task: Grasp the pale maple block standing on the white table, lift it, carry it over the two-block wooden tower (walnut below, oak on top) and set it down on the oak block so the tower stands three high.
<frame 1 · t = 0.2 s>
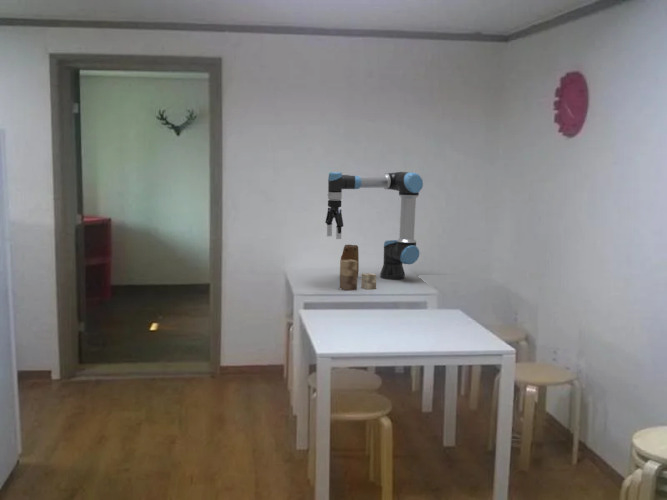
hand: (333, 237, 407), 28 cm above the table, fingers open, 13 cm apart
maple block: (368, 288, 407), on the table
oak block: (348, 274, 402), point 8 cm above the table, touching walnut block
block: (349, 278, 440), on the table
walnut block: (348, 288, 403), on the table, touching oak block
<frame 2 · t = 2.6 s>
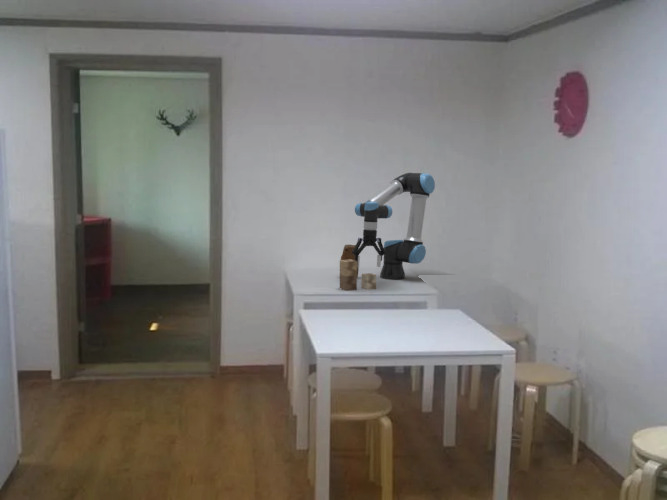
hand: (368, 267, 405), 12 cm above the table, fingers open, 13 cm apart
oak block: (348, 274, 402), point 8 cm above the table, touching gripper, walnut block
everything else where it was.
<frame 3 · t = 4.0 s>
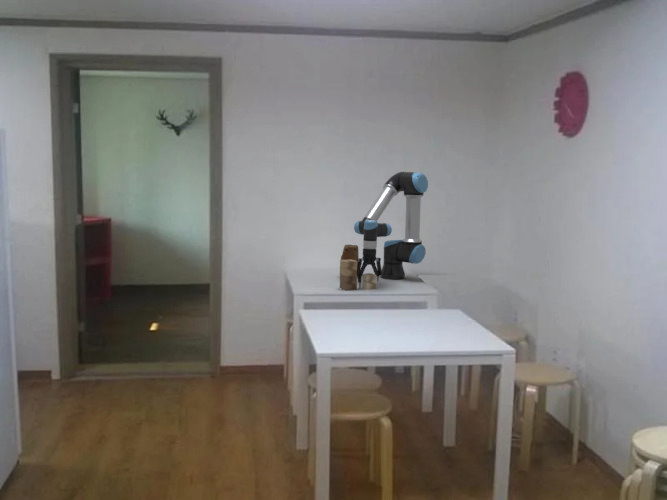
hand: (367, 287, 407), 0 cm above the table, fingers open, 9 cm apart
oak block: (348, 274, 402), point 8 cm above the table
walnut block: (348, 289, 403), on the table
everything else where it was.
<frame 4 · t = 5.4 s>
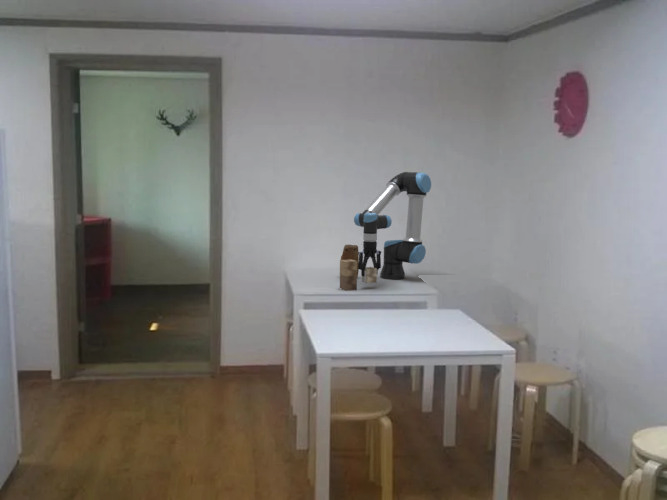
hand: (369, 281, 407), 4 cm above the table, fingers closed on maple block, 6 cm apart
maple block: (369, 282, 407), point 3 cm above the table, touching gripper
oak block: (348, 274, 402), point 8 cm above the table, touching walnut block
walnut block: (348, 288, 403), on the table, touching oak block
everything else where it was.
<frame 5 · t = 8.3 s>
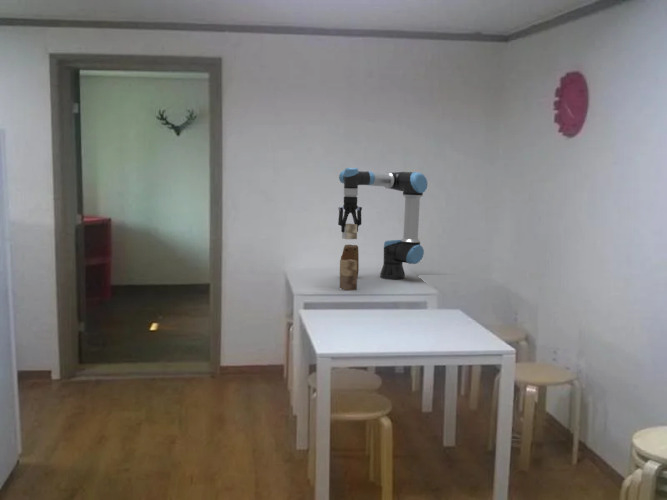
hand: (349, 237, 399), 29 cm above the table, fingers closed on maple block, 6 cm apart
maple block: (349, 238, 400), point 28 cm above the table, touching gripper
everything else where it was.
when the fingers open (16 cm above the table, at t = 11.4 s): maple block stays where it is, resting on oak block.
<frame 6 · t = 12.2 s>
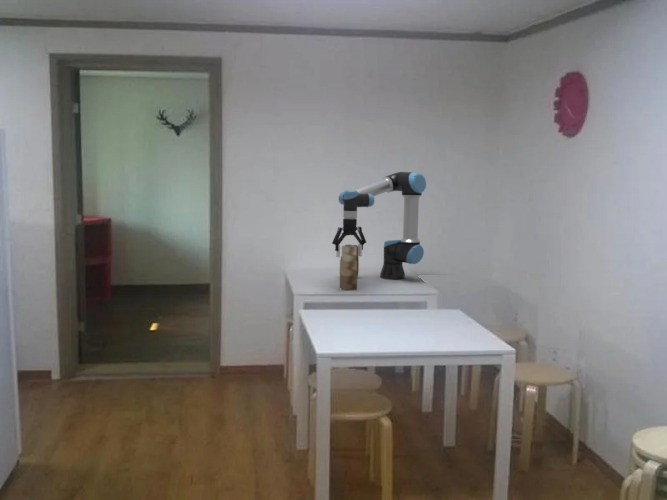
hand: (349, 256, 401), 18 cm above the table, fingers open, 13 cm apart
maple block: (348, 260, 401), point 16 cm above the table, touching oak block
oak block: (348, 274, 402), point 8 cm above the table, touching maple block, walnut block
everything else where it was.
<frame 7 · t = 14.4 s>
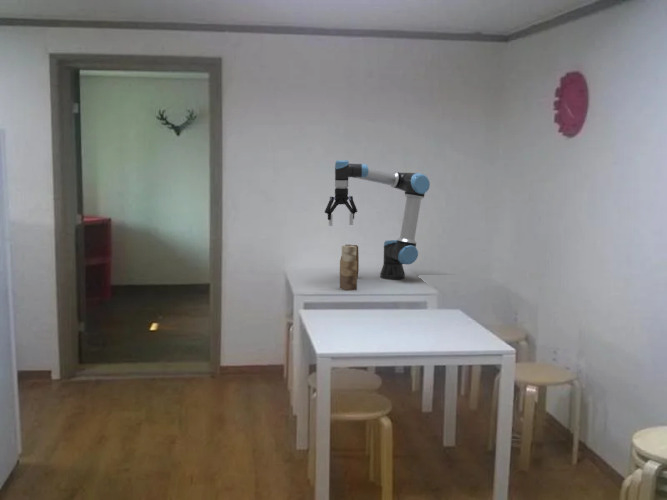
hand: (340, 225, 411), 34 cm above the table, fingers open, 13 cm apart
nothing on the table moved.
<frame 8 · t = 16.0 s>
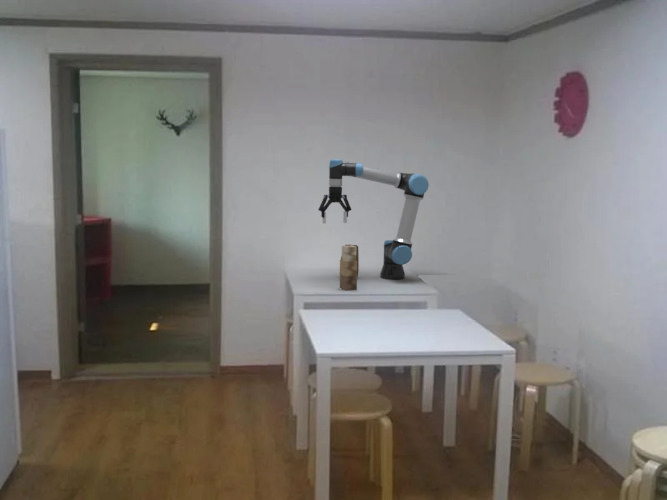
hand: (334, 223, 419), 35 cm above the table, fingers open, 13 cm apart
nothing on the table moved.
at the end: maple block 0.2 cm off-centre on the oak block, point 8.0 cm above the oak block's base; maple block tilted 0°; oak block moved 0.2 cm from its start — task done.
